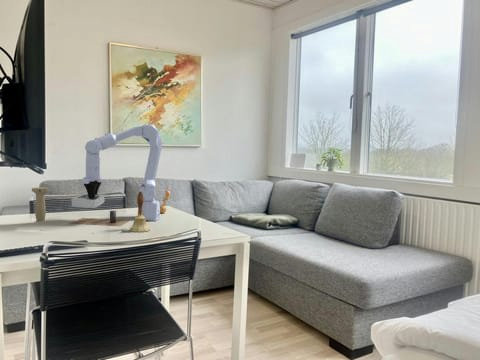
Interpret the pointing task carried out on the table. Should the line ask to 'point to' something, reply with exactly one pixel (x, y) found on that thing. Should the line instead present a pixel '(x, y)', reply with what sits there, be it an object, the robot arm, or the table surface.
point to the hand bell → (139, 217)
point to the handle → (40, 203)
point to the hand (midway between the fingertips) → (92, 198)
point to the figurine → (162, 207)
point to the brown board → (101, 221)
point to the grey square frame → (87, 201)
